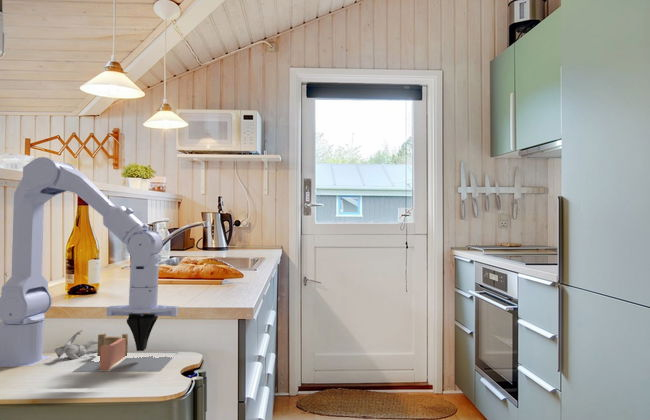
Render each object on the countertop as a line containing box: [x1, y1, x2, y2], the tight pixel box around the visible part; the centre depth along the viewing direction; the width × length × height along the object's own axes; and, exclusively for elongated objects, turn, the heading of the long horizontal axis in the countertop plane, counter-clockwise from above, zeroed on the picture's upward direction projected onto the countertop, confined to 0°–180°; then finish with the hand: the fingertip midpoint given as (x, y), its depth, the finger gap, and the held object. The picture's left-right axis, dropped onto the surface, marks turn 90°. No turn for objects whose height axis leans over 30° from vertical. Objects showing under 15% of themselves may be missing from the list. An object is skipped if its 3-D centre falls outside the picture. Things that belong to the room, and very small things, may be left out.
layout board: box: [72, 351, 179, 373], centre depth 95 cm, size 17×14×1 cm
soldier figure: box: [54, 329, 98, 360], centre depth 100 cm, size 8×5×12 cm
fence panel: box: [100, 337, 126, 370], centre depth 93 cm, size 10×1×5 cm, turn 3°
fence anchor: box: [96, 333, 129, 356], centre depth 99 cm, size 6×1×5 cm, turn 94°
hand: (141, 349), depth 95 cm, fingers closed
